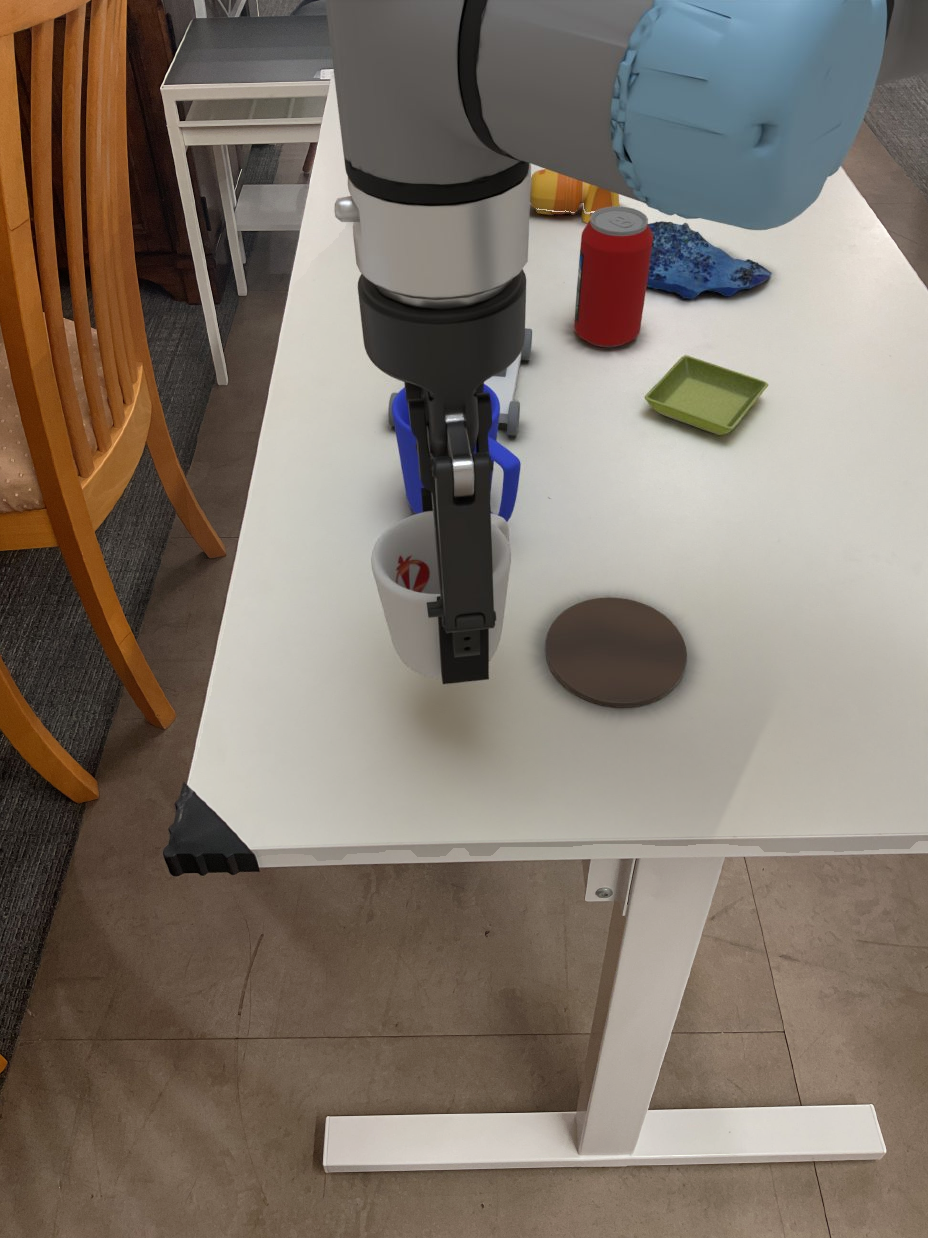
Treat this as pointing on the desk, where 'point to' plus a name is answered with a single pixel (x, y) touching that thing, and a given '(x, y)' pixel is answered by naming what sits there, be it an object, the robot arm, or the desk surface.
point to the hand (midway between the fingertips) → (455, 619)
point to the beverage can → (612, 276)
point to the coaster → (616, 652)
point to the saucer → (705, 395)
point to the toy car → (501, 389)
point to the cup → (427, 588)
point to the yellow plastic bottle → (567, 194)
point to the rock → (696, 264)
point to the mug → (496, 452)
